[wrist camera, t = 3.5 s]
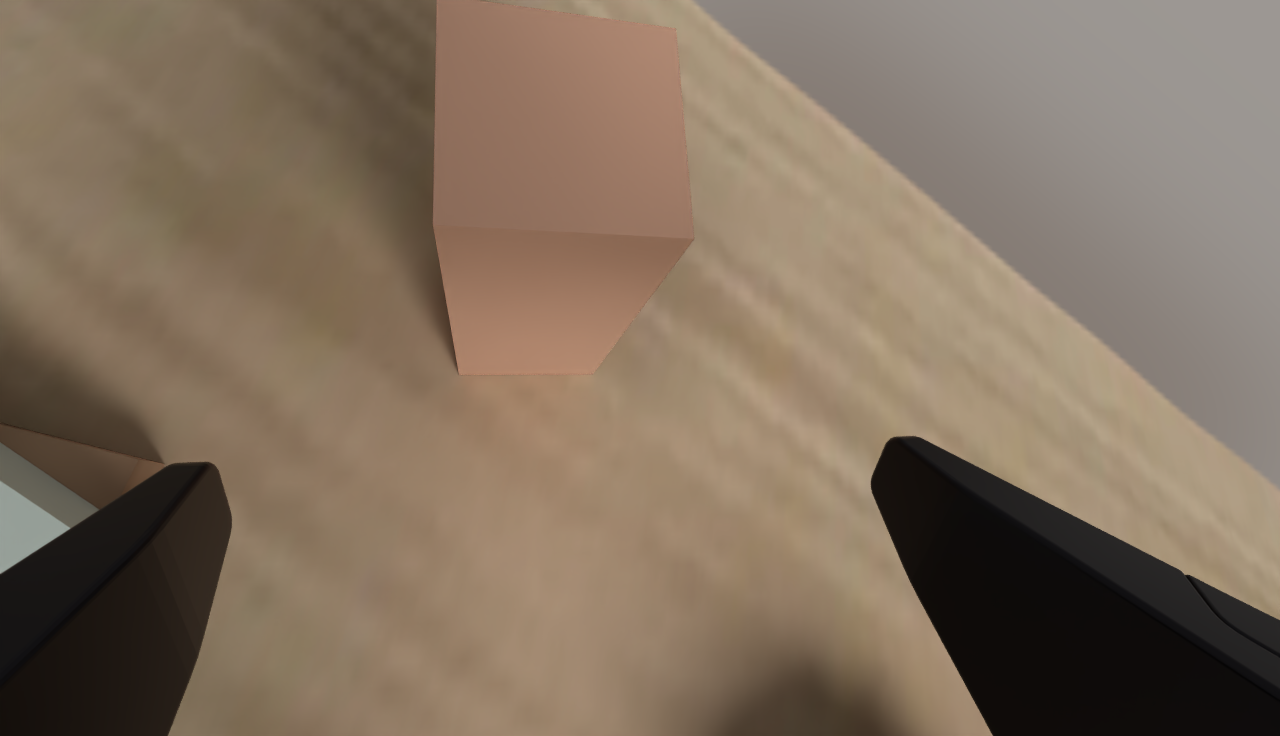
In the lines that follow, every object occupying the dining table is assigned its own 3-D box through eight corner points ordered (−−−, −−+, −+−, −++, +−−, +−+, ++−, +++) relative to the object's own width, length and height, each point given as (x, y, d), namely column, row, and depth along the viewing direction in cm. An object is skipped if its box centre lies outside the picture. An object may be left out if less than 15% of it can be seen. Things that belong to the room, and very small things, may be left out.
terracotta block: (592, 374, 21) (694, 238, 11) (459, 374, 20) (433, 224, 10) (587, 255, 22) (676, 28, 12) (460, 249, 21) (437, -6, 11)
